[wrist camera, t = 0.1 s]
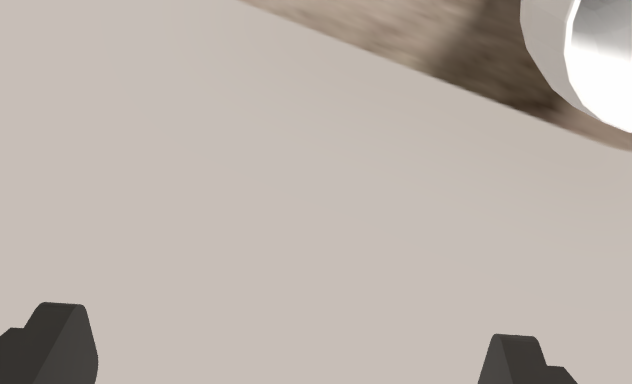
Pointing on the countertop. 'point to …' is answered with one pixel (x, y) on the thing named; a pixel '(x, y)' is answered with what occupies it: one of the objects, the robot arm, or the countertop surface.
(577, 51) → the white vase
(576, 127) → the countertop surface
